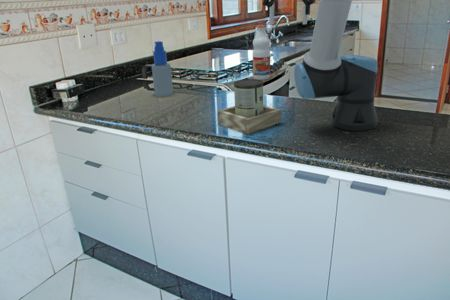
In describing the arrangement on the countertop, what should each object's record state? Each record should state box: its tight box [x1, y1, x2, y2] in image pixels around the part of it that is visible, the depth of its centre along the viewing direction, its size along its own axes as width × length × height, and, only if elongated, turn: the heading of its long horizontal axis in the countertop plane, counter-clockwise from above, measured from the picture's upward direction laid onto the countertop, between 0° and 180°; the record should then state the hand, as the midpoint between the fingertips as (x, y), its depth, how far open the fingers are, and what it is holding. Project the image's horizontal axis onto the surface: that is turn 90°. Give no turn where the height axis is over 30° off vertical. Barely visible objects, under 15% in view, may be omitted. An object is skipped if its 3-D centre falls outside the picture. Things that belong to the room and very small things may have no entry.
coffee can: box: [233, 78, 264, 118], centre depth 132 cm, size 10×10×14 cm
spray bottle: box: [151, 41, 174, 98], centre depth 179 cm, size 9×9×25 cm
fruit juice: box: [252, 24, 271, 81], centre depth 203 cm, size 9×9×28 cm
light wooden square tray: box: [217, 104, 282, 135], centre depth 134 cm, size 16×16×5 cm
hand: (287, 24), depth 146 cm, fingers open, 13 cm apart
